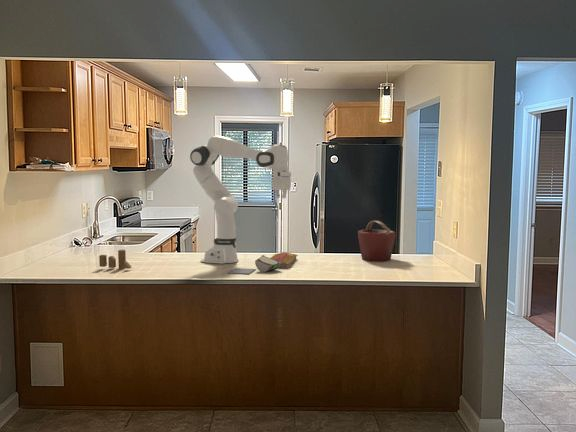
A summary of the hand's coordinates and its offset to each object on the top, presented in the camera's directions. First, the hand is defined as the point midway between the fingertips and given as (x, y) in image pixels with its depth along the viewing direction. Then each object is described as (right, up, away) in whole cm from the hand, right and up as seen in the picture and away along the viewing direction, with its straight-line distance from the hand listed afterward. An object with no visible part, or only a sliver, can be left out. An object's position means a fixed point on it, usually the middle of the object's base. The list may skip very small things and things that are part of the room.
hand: (280, 197), depth 310 cm
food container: (-11, -39, -11) cm, 42 cm away
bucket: (+58, -38, +30) cm, 76 cm away
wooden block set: (-91, -40, -6) cm, 99 cm away
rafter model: (0, -39, +16) cm, 43 cm away
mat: (-21, -41, -11) cm, 47 cm away
